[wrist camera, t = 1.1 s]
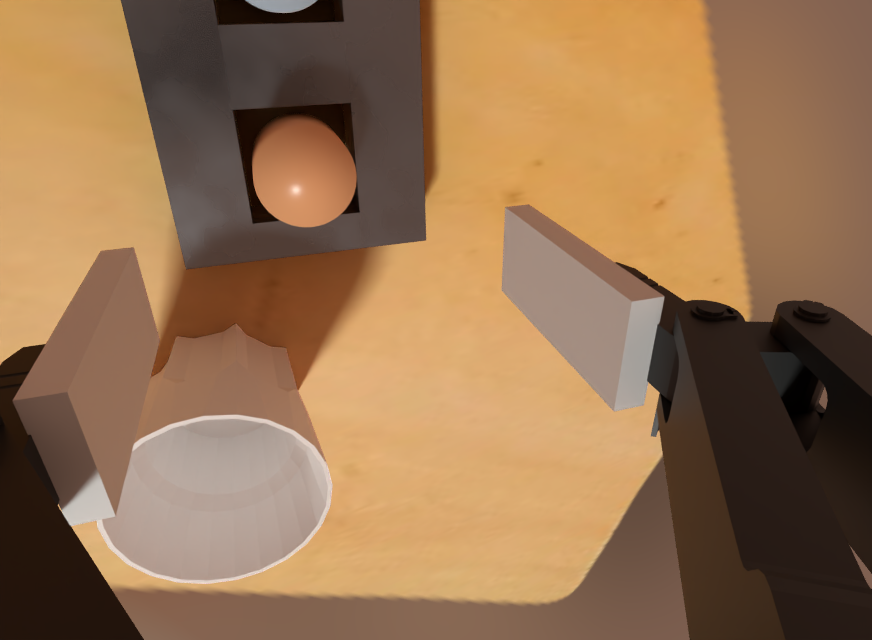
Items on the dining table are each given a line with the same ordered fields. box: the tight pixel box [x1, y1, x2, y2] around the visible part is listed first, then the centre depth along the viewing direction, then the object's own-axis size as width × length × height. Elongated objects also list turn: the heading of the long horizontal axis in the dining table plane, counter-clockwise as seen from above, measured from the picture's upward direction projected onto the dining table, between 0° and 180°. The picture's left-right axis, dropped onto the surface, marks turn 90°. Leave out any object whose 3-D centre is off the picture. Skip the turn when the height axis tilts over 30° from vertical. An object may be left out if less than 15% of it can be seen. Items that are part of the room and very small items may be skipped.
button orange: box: [252, 113, 357, 227], centre depth 27 cm, size 4×4×4 cm
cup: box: [97, 323, 332, 584], centre depth 30 cm, size 10×10×10 cm
